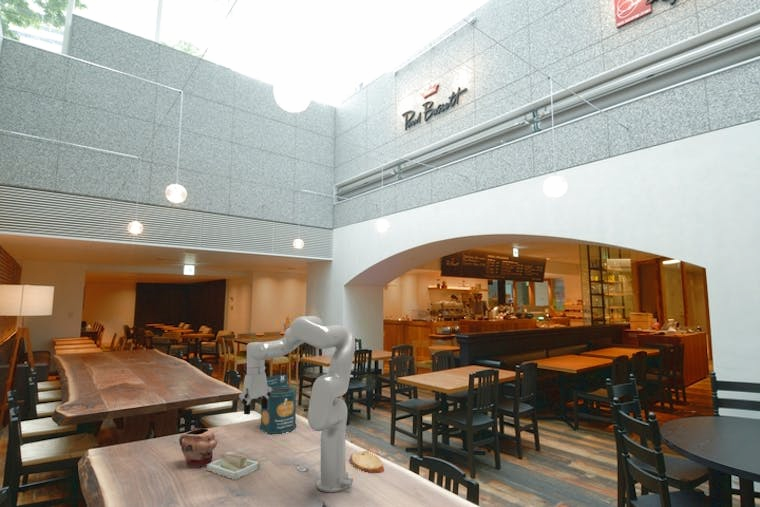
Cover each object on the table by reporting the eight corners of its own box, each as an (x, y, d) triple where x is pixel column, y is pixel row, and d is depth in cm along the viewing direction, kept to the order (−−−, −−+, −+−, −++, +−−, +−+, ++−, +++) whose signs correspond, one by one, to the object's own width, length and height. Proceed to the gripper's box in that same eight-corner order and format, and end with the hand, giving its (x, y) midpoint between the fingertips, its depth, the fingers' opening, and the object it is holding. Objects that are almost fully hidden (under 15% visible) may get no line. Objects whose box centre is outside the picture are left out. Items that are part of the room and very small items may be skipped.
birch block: (228, 463, 169) (228, 451, 170) (246, 469, 163) (247, 456, 164) (220, 467, 166) (220, 454, 167) (238, 472, 160) (239, 460, 160)
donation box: (286, 423, 228) (286, 374, 232) (299, 429, 216) (300, 377, 220) (259, 429, 218) (260, 377, 221) (272, 436, 206) (273, 381, 209)
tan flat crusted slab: (382, 475, 157) (382, 465, 158) (340, 471, 162) (340, 461, 162) (393, 458, 174) (392, 449, 175) (355, 455, 179) (354, 446, 180)
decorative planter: (166, 467, 168) (168, 433, 170) (186, 456, 180) (188, 425, 182) (206, 471, 163) (207, 436, 165) (224, 460, 175) (225, 427, 177)
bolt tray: (259, 468, 165) (259, 462, 165) (234, 480, 154) (234, 473, 155) (231, 460, 175) (231, 454, 175) (206, 470, 164) (206, 464, 164)
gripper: (264, 367, 181) (265, 406, 179) (233, 373, 167) (233, 415, 164) (276, 368, 178) (276, 407, 175) (245, 374, 163) (245, 417, 160)
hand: (256, 411), depth 170 cm, fingers open, 9 cm apart
